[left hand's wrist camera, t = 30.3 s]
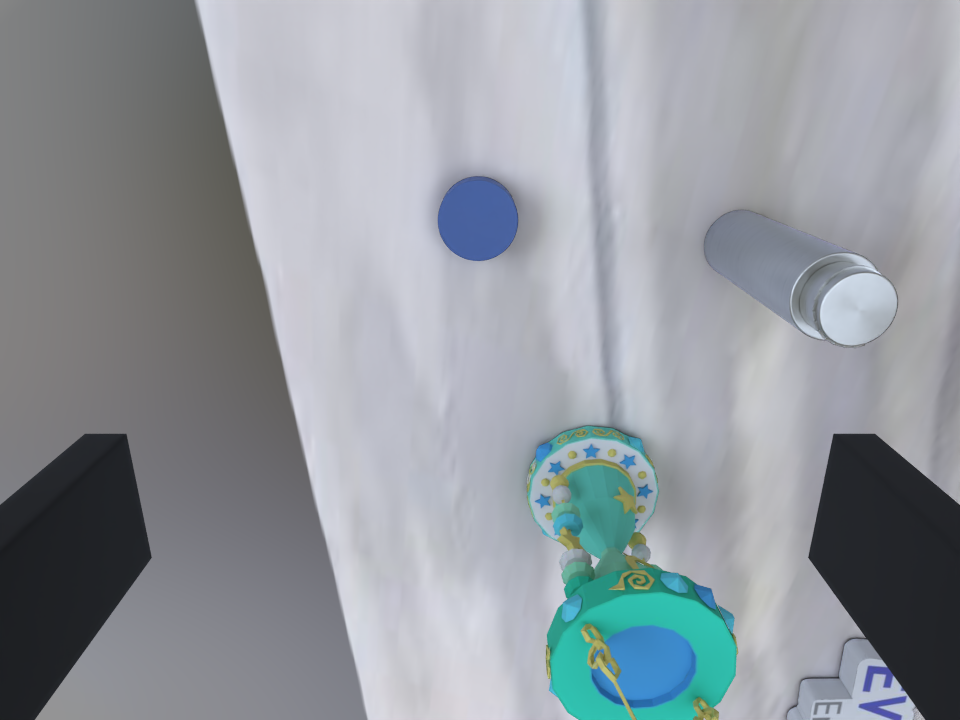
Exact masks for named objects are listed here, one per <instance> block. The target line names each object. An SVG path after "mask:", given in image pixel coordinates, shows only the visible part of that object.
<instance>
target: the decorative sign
mask: <svg viewBox="0 0 960 720" xmlns="http://www.w3.org/2000/svg"><path fill="white" fill-rule="evenodd" d="M798 703H799V704H798V705H797V707H794V708H792V709H791V710H790V711H789V712H788V714H787V720H914V716H915V713H914V711H913V710H914V709H915V708H916V706H915V705H914V703H913V702H912V701H911V699H910V698H909V696H908V695H907V694H906V692H905V691H904V689H903V688H902V687H901V685H900V684H899V683H898V681H897V680H896V678H895V677H894V676H893V674H892V673H891V671H890V670H889V669H888V667H887V666H886V665H885V663H884V662H883V660H882V659H881V658H880V656H879V655H878V653H877V652H876V651H875V649H874V648H873V647H872V645H871V644H870V642H869V641H868V640H867V639H852V640H849V641H848V642H847V643H846V644H845V646H844V651H843V656H842V661H841V667H840V671H839V678H837V679H805V680H803V681H802V682H801V685H800V691H799V698H798Z"/></svg>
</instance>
